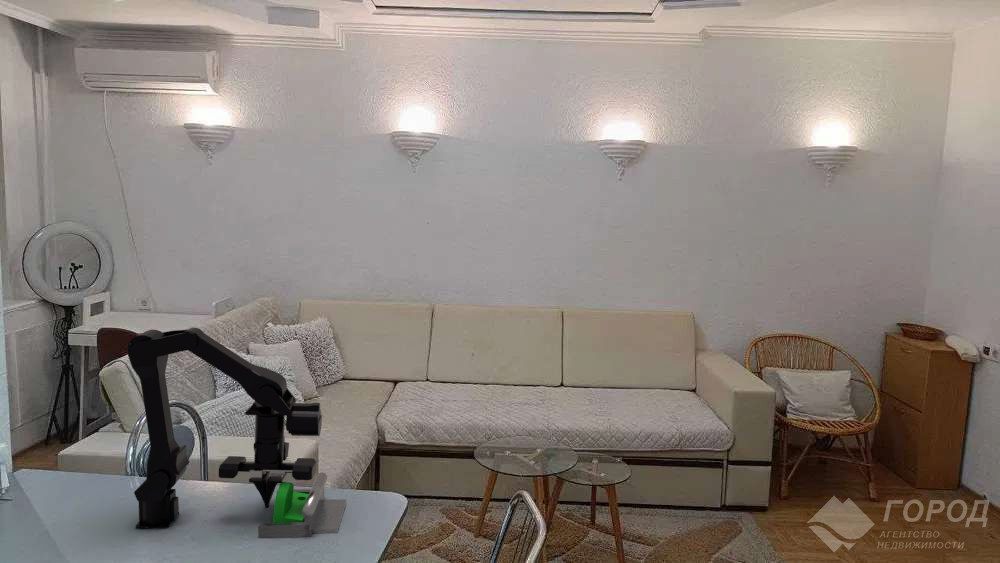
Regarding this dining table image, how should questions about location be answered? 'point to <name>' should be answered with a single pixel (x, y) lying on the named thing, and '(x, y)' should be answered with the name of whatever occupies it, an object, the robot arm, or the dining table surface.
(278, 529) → the bracket
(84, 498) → the dining table surface
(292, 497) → the mechanical part
